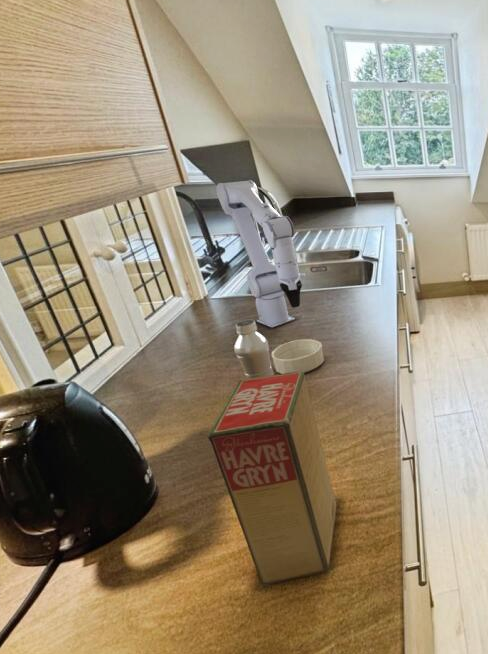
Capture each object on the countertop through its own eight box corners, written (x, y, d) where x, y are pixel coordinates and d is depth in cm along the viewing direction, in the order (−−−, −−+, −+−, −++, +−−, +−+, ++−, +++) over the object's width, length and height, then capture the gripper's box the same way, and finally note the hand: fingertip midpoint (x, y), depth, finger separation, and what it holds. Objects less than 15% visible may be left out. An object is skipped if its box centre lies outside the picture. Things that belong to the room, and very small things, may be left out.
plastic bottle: (289, 399, 104) (269, 319, 96) (265, 415, 98) (241, 331, 90) (270, 393, 106) (248, 314, 98) (244, 408, 100) (220, 326, 93)
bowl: (266, 368, 118) (262, 352, 116) (307, 350, 127) (304, 335, 125) (292, 380, 111) (288, 364, 109) (333, 361, 120) (330, 346, 118)
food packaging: (277, 512, 73) (237, 377, 63) (338, 501, 75) (308, 368, 65) (257, 588, 61) (203, 435, 51) (330, 571, 63) (292, 422, 53)
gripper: (304, 265, 123) (313, 311, 128) (297, 253, 134) (306, 296, 140) (275, 269, 120) (286, 316, 125) (272, 257, 131) (282, 300, 137)
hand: (295, 306), depth 132 cm, fingers closed
